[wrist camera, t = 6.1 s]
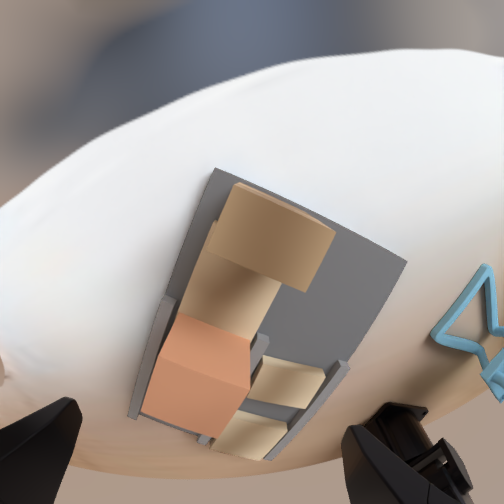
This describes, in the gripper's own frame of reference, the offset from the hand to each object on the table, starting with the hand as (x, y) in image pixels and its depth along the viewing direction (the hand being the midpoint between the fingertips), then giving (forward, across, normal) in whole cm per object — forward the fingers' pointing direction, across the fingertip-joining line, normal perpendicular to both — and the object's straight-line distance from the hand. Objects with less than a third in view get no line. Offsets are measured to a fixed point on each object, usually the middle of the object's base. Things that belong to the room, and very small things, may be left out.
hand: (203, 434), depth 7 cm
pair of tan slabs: (+10, -3, +9) cm, 14 cm away
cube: (+9, +1, +3) cm, 9 cm away
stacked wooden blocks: (+10, 0, 0) cm, 10 cm away
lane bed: (+11, -2, +4) cm, 12 cm away
